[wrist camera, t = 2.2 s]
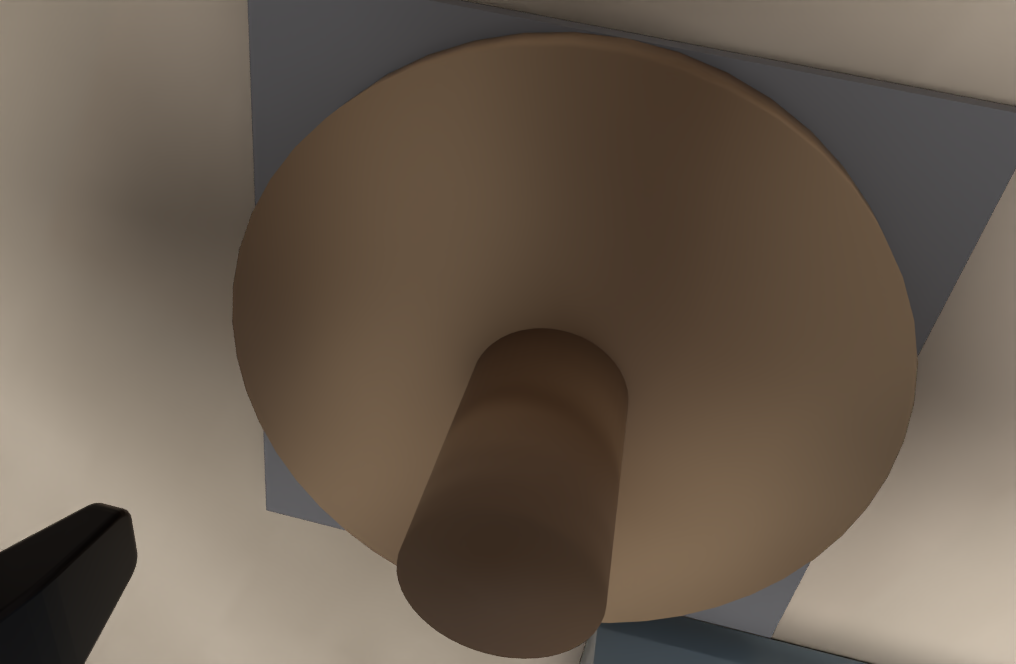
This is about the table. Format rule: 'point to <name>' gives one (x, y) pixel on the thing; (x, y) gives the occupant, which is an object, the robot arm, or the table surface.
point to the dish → (692, 645)
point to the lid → (574, 336)
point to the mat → (798, 89)
